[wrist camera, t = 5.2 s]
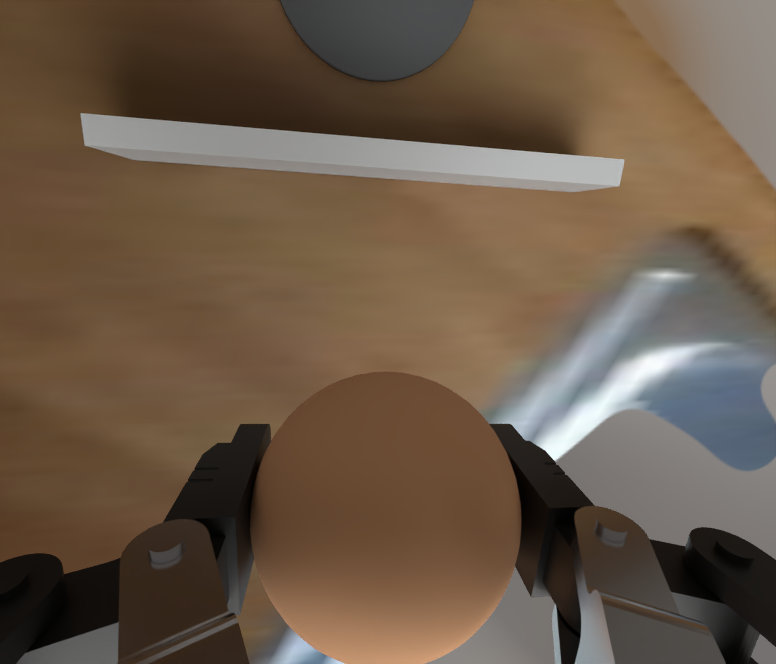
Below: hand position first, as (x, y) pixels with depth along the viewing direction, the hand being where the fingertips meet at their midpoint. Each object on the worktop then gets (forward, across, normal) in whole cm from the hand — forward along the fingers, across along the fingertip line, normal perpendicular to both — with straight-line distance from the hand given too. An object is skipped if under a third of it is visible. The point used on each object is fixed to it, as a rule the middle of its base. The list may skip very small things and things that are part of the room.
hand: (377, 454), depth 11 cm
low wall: (+13, 0, -9) cm, 16 cm away
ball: (-2, 0, 0) cm, 2 cm away
